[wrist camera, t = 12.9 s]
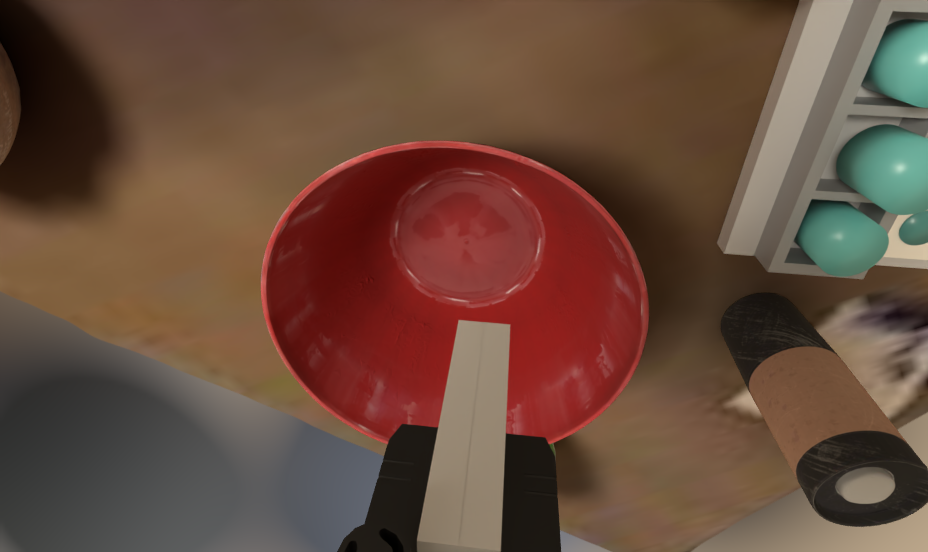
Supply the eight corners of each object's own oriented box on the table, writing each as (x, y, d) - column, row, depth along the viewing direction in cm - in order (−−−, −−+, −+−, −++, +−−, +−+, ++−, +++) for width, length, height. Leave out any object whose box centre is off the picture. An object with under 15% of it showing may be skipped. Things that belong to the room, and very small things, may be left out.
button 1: (874, 17, 34) (924, 23, 30) (949, 20, 34) (1009, 27, 29) (844, 90, 37) (886, 105, 32) (913, 93, 36) (964, 109, 32)
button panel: (804, -13, 36) (841, -11, 31) (1074, -4, 34) (1151, 0, 30) (716, 243, 47) (735, 270, 43) (918, 258, 45) (958, 287, 41)
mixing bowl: (589, 45, 39) (621, 83, 26) (633, 326, 53) (668, 442, 40) (281, 137, 46) (184, 204, 33) (391, 365, 60) (353, 476, 47)
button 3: (801, 193, 41) (833, 219, 37) (862, 197, 41) (901, 224, 36) (779, 244, 43) (807, 274, 39) (836, 248, 43) (870, 279, 39)
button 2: (853, 122, 35) (897, 142, 31) (924, 126, 35) (979, 147, 31) (825, 185, 38) (863, 212, 34) (891, 189, 38) (937, 217, 33)
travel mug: (704, 340, 53) (788, 515, 36) (739, 282, 49) (852, 448, 32) (773, 356, 53) (889, 537, 36) (814, 299, 49) (966, 473, 32)
